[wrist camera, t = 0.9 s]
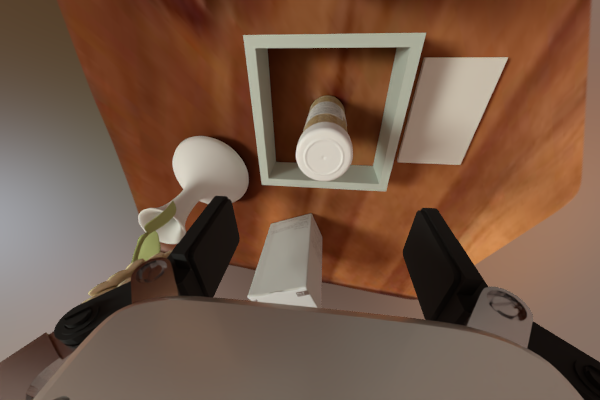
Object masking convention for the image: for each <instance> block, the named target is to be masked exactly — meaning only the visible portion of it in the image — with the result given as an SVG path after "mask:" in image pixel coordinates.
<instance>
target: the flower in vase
mask: <svg viewBox="0 0 600 400" xmlns="http://www.w3.org/2000/svg"><path fill="white" fill-rule="evenodd" d="M173 170H174V173H175V176H176V178H177V180H178V182H179V183H180V185H181V186H182V188H183V189H184V190H183V191H182V192H181V193H180V194H179V195H178V196H177V197H176V198H175V199H173V200H172V201H171V202H169V203H167V204H166V205H164V206H161V207H159V208H148V209H145V210H143V211H141V212H140V214H139V216H138V220H139V224H140V226H141V227H142V229H143V230H144V231H145V232H146V233H145V234H143V235H141V236H140V237H139V238H138V241H137V246H136V249H135V251H134V255H133V258H132V262H131V264H130V265H128V267H127V268H126V270H122V271H119V272H117V273H116V274H114V275H112V276H111V277H110V278H108V280H107V281H105V282H103V283H101V284H99V285H97V286H96V287H94V288H93V289H92V290H90V291H89V293H88V295H90V296H92V297H91V298H89V299H87V300H86V301H89V300H91V299H93V298H95V297H97V296H99V295H101V294H104V293H106V292H108V291H110V290H112V289H114V288H117V287H119V286H121V285H123V284H125V283H127V282H130V281H131V275H132V274H133V272H134V270H135V269H136V268H137V267H138V266H139V265H141V264H142V263H144V262H146V261H148V260H150V259H153V258H158V257H163V258H167V257H168V256H169V255H170V253H171V252H172V251H173V250H171V251H169V252H167V253H165V254H164V253H163V252H161V253H160V248H161V247H160V242H163V243H167V244H177V243H179V242H180V240H181V239H182V238H183V236H184V235H185V234H186V230H185V222H186V219H187V217H188V215H189V213H190V212H191V210H192V209H193V207H194V206H195V205H196V204H197V202H198V201H201V202H204V203H207V204H209V203H210V202H211V200H212V199H213V198H214V197H215V196H227V197H228V199H230V200H231V201H232V203H233V202H235V201H237V200H238V199H240V198H241V197H242V196H243V195H244V194H245V192H246V190H247V188H248V183H249V176H248V171H247V168H246V166H245V164H244V162H243V160H242V159H241V157H240V156H239V155H238V154H237V153H236V151H234V150H233V149H232V148H231V147H230V146H228V145H227V144H225V143H224V142H222V141H220V140H217V139H215V138H211V137H207V136H194V137H190V138H188V139H186V140H184V141H182V142H181V143H180V144H179V146H178V147H177V149H176V151H175V153H174V157H173ZM86 301H84V302H86ZM84 302H83V303H84ZM81 304H82V303H81Z"/></svg>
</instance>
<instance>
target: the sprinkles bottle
mask: <svg viewBox="0 0 600 400" xmlns="http://www.w3.org/2000/svg"><path fill="white" fill-rule="evenodd" d="M352 158H353V148H352V143H351V139H350V137H349V135H348V132H347V123H346V118H345V110H344V107H343V105H342V103H341V102H340V101H339V100H338V99H337V98H335V97H333V96H322V97H320V98H318V99H316V100H315V101H314V102H313V104H312V105H311V107H310V111H309V115H308V118H307V121H306V124H305V127H304V130H303V133H302V135H301V136H300V138H299V141H298V144H297V149H296V160H297V164H298V166H299V168H300V169H301V171H302V172H303V173H304V174H305V175H306V176H308V177H309V178H311V179H314V180H317V181H331V180H334V179H337V178H338V177H340V176H342V175H343V174H344V173H345V172H346V171H347V170H348V168H349V167H350V165H351V162H352Z"/></svg>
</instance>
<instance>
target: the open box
mask: <svg viewBox="0 0 600 400" xmlns="http://www.w3.org/2000/svg"><path fill="white" fill-rule="evenodd" d="M425 36H426V33H375V34H298V35H243V37H244V45H245V54H246V62H247V70H248V78H249V86H250V94H251V102H252V110H253V118H254V126H255V134H256V142H257V150H258V158H259V167H260V175H261V183H262V185H275V186H293V187H312V188H331V189H350V190H368V191H386V189H387V185H388V181H389V177H390V174H391V170H392V166H393V162H394V158H395V154H396V150H397V146H398V142H399V138H400V134H401V130H402V126H403V122H404V118H405V115H406V111H407V107H408V103H409V99H410V95H411V91H412V87H413V83H414V79H415V75H416V71H417V67H418V63H419V59H420V55H421V52H422V48H423V44H424V40H425ZM370 47H397V49H396V54H395V59H394V64H393V69H392V74H391V79H390V84H389V89H388V94H387V99H386V104H385V109H384V114H383V119H382V124H381V129H380V134H379V139H378V144H377V149H376V154H375V159H374V164H373V166H360V165H350V167H349V168H348V170H347V171H346V172H345V173H344V174H343V175H342V176H340V177H338V178H337V179H334V180H331V181H317V180H314V179H311V178H309V177H308V176H306V175H305V174H304V173H303V172H302V171H301V169H300V168H299V166H298V164H297V163H290V162H276V153H275V140H274V127H273V113H272V100H271V87H270V74H269V60H268V48H370Z"/></svg>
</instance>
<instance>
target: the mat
mask: <svg viewBox="0 0 600 400" xmlns="http://www.w3.org/2000/svg"><path fill="white" fill-rule="evenodd" d="M507 59H508V57H424V59H423V62H422V66H421V70H420V74H419V78H418V81H417V85H416V89H415V93H414V97H413V100H412V104H411V108H410V112H409V116H408V120H407V123H406V127H405V131H404V135H403V139H402V142H401V146H400V150H399V154H398V158H397V162H402V163H426V164H451V165H461V162H462V160H463V158H464V156H465V153H466V151H467V149H468V147H469V145H470V142H471V140H472V138H473V136H474V133H475V131H476V129H477V127H478V124H479V122H480V120H481V118H482V115H483V113H484V111H485V109H486V106H487V104H488V102H489V100H490V97H491V95H492V93H493V91H494V88H495V86H496V84H497V82H498V79H499V77H500V75H501V73H502V71H503V68H504V66H505V64H506V62H507Z"/></svg>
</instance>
